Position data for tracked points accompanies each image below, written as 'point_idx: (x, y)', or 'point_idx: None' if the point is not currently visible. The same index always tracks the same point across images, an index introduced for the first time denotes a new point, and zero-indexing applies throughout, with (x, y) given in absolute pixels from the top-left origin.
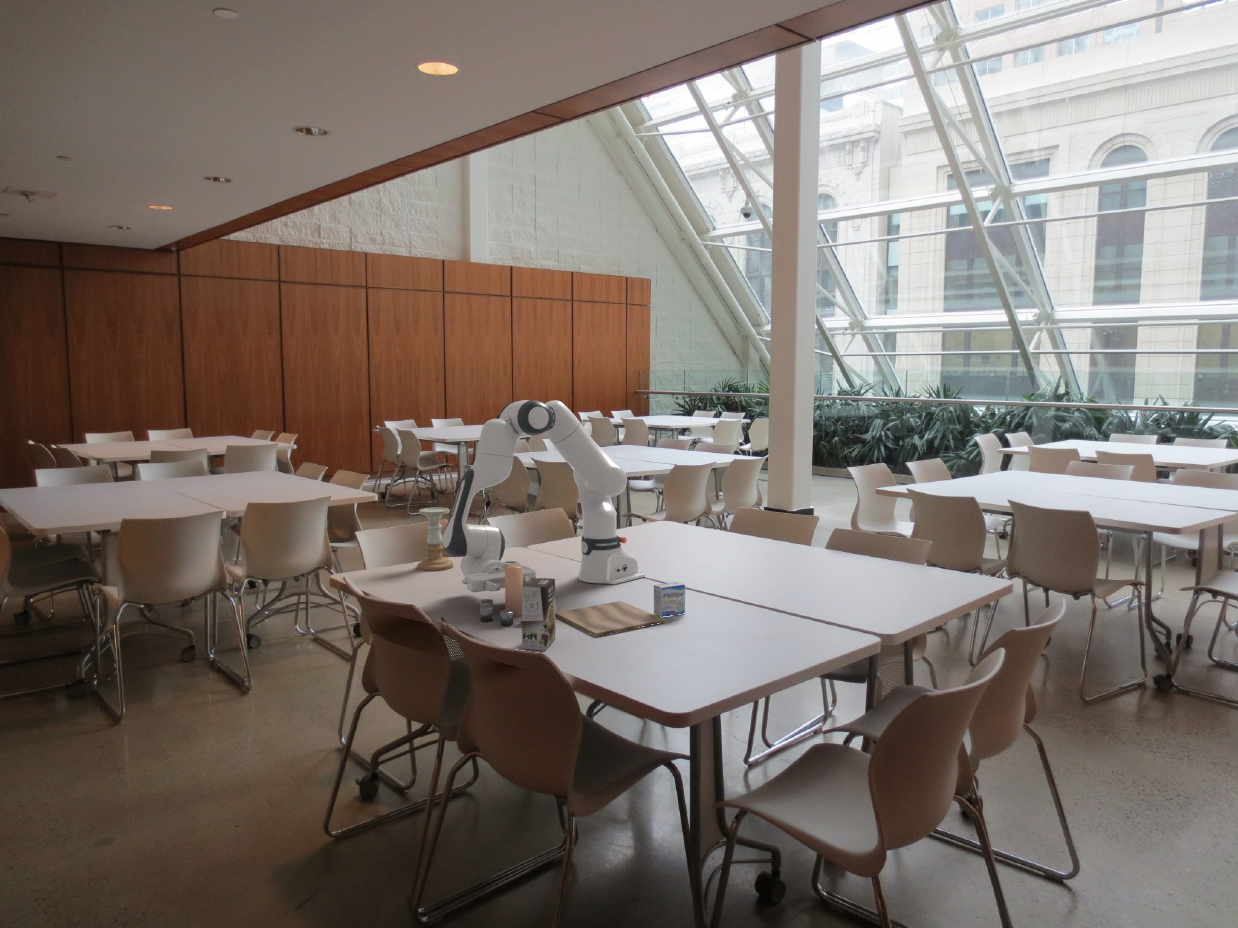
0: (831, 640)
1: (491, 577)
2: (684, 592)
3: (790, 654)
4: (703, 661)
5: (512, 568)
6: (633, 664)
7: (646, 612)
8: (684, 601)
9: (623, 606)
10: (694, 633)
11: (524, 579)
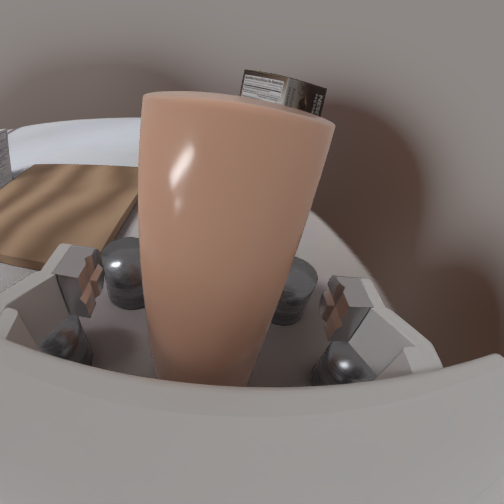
0: (37, 128)
1: (412, 389)
2: None
3: (82, 123)
4: (139, 130)
5: (280, 104)
6: None
7: (6, 185)
8: None
9: None
10: (62, 149)
11: (78, 266)
